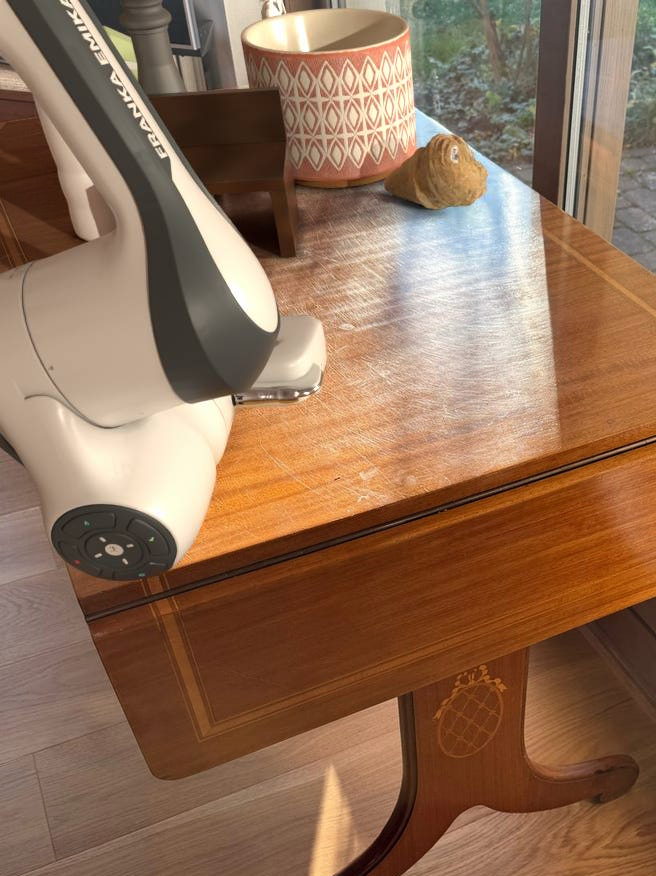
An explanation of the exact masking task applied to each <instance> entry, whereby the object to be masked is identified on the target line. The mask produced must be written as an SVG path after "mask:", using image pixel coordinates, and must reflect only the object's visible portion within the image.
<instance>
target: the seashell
mask: <svg viewBox="0 0 656 876" xmlns="http://www.w3.org/2000/svg"><path fill="white" fill-rule="evenodd" d="M488 177H489V171H488V170H487V168H486V167H485V166H484V164H483V163H481V162H480V161H478V160H477V159H476V157H475V154H474V152H473V150H471V148H470V146H469V143H468V142H466V141H465V140H464V139H463V137H461V136H459V135H457V134H454V133H450V134H449V133H448V134H446V133H440V132H439V133H437V134H436V135H433V136H432V137H431V138H430V139H429V141H428V142H427V143H426V145H425V146H420V147H419V148H417V150H416V151H415V152H414V155H412V156H411V157H410V158H408V159H407V160H405V161H404V162H403V163H402V165H401V166H400V167H398V168H396V169H395V170H394V171H393V172H392V173H391V174H389V175H388V177H386V178H384V186H383V187H384V190H385V191H387V192H388V193H390V194H392V195H394V196H395V197H398V198H402V199H403V200H405V201H410V202H413V203H415V204H417V205H421V206H423V207H424V208H426V209H430V210H434V211H441V210H444V209H446V208H449V207H453V208H456V207H470V206H471V205H473V203H474V202H476V201H477V200H479V199H480V198H482V197H483V196H484V195H485V194H486V193H487V192H488V186H487V184H486V183H487V179H488Z"/></svg>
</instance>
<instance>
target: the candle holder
mask: <svg viewBox="0 0 656 876" xmlns="http://www.w3.org/2000/svg"><path fill="white" fill-rule="evenodd" d="M163 1H164V0H118V2H119V4H120V6H121V7H123V12H122V13H121V14H120V16H119V18H118V19H119V23H120V24H121V25H120V26H122V27H123V28H124V29H126V31H127V33H129V37H131V41H132V45H133V49H134V53H135V57H136V61H137V74H138V83H139V85H140V86H141V88H142V90H143V91H144V93H145V94H163V93H179V92H188V90H187V87H186V86H185V83H184V81H183V77H182V76H181V73H180V71H179V69H178V67H177V64H176V61H175V58H174V55H173V54H174V53H173V50H172V45H171V41H170V35H169V31H168V29H169V24H170V23H171V21H172V14H171V12H170V11H168V9H166V8H164V7H163V4H162V3H163ZM211 196H212V197H213V198H214V200H215V201H216V199H215V195H211Z"/></svg>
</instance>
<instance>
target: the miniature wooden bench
mask: <svg viewBox="0 0 656 876" xmlns="http://www.w3.org/2000/svg"><path fill="white" fill-rule="evenodd" d="M146 96H147V97H148V99H149V101H150V102H151V104H152V105H153V107H154V109H155V110H156V112H157V113H158V115H159V117H160V118H161V120H162V121H163V123H164V125H165V126H166V128H167V129H168V131H169V133H170V134H171V136H172V137H173V139H174V141H175V142H176V144H177V145H178V147H179V148H180V150H181V151H182V153H183V155H184V156H185V158H186V159H187V161H188V162H189V164H190V165H191V167H192V169H193V170H194V172H195V173H196V175H197V176H198V178H199V179H200V181H201V182H202V183H203V185H204V186H205V188H206V189H207V190H208V192H209V193H210V194H211V195H214V196H215V195H216V196H217V195H230V194H247V193H260V192H269V193H270V199H271V206H272V211H273V215H274V223H275V228H276V229H275V230H276V233H277V234H276V235H277V239H278V240H277V241H278V246H279V253H280V257H281V258H292V257H297V251H298V234H299V232H298V230H299V212H300V211H299V204H298V198H297V197H298V196H297V191H296V185H295V184H296V183H294V178H293V171H292V165H291V158H290V152H289V145H288V139H287V132H286V125H285V119H284V112H283V106H282V99H281V93H280V87H279V86H278V87H262V88H249V87H248V88H247V87H245V88H232V89H215V90H197V91H187V92H179V93H163V94H146Z"/></svg>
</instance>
